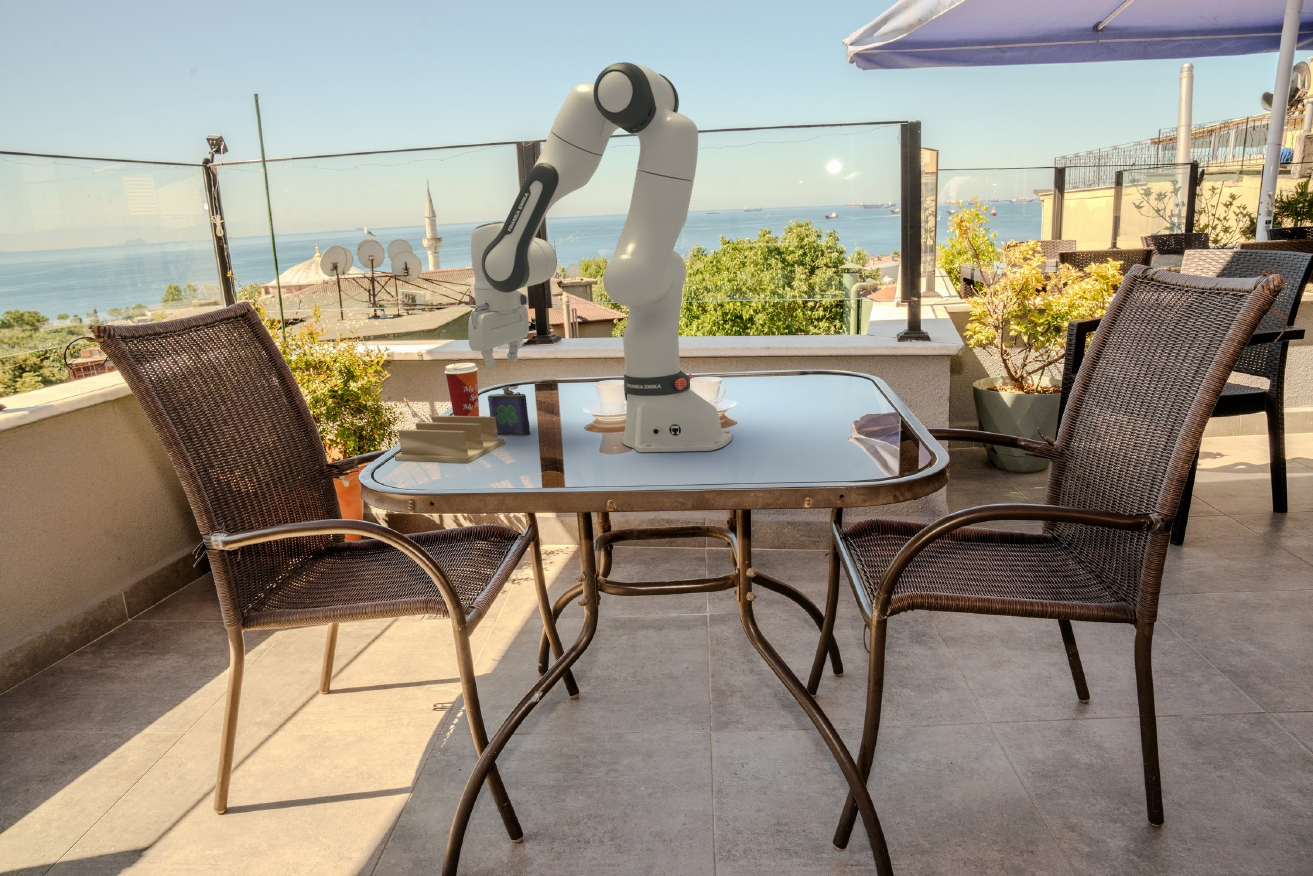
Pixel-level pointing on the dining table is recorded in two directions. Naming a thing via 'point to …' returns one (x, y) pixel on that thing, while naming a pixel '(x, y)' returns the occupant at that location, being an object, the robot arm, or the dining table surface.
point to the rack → (449, 439)
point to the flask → (509, 412)
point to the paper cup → (463, 388)
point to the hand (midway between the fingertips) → (502, 364)
